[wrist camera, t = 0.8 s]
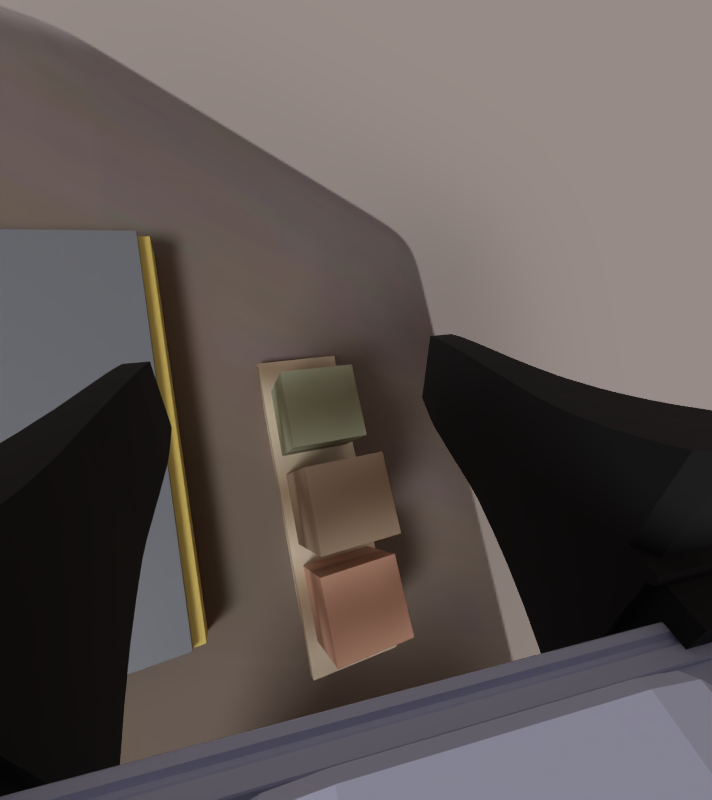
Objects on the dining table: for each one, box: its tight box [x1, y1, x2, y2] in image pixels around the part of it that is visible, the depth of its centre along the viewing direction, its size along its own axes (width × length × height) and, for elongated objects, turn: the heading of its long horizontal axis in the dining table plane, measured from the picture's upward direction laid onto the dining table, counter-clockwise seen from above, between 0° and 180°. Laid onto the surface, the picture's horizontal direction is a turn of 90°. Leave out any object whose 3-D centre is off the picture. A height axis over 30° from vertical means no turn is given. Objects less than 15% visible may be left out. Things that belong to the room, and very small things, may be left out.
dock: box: [0, 229, 208, 674], centre depth 19 cm, size 22×13×2 cm, turn 13°
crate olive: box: [271, 364, 367, 456], centre depth 22 cm, size 4×4×4 cm
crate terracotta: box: [303, 546, 414, 669], centre depth 21 cm, size 4×4×4 cm
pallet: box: [257, 356, 401, 680], centre depth 22 cm, size 18×5×7 cm, turn 13°
